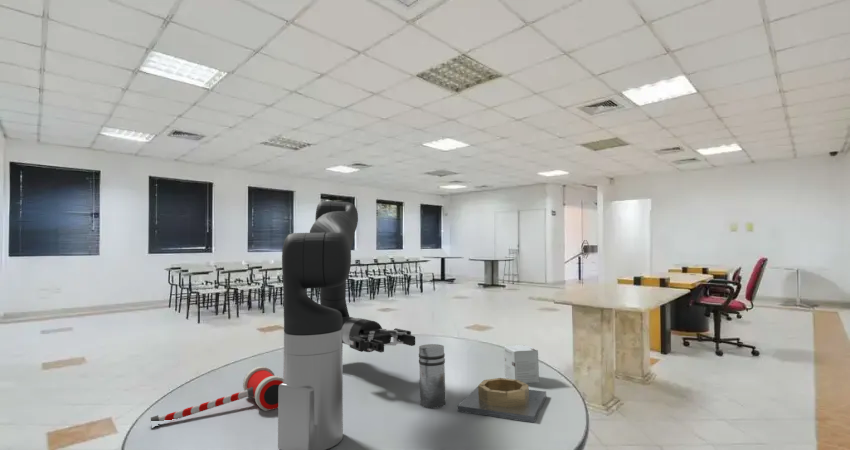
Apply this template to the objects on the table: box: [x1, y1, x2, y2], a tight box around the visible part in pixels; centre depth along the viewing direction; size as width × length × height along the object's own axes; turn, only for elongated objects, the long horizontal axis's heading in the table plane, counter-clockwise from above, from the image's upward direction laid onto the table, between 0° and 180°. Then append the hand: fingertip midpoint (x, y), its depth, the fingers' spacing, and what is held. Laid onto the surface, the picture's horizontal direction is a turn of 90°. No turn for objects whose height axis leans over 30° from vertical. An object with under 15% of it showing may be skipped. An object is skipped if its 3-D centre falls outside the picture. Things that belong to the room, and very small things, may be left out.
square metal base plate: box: [457, 377, 547, 423], centre depth 77 cm, size 14×14×4 cm
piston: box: [418, 343, 447, 409], centre depth 78 cm, size 5×5×11 cm
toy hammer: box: [150, 366, 283, 422], centre depth 77 cm, size 23×12×6 cm, turn 127°
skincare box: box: [503, 344, 540, 384], centre depth 92 cm, size 6×6×7 cm
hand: (398, 344), depth 88 cm, fingers open, 8 cm apart
